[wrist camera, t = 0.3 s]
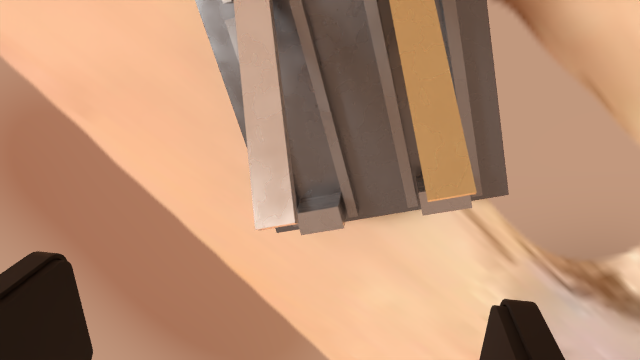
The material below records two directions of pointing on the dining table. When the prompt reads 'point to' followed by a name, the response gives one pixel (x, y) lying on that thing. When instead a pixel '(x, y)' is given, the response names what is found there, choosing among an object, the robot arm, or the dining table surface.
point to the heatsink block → (366, 105)
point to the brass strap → (432, 100)
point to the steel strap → (265, 116)
